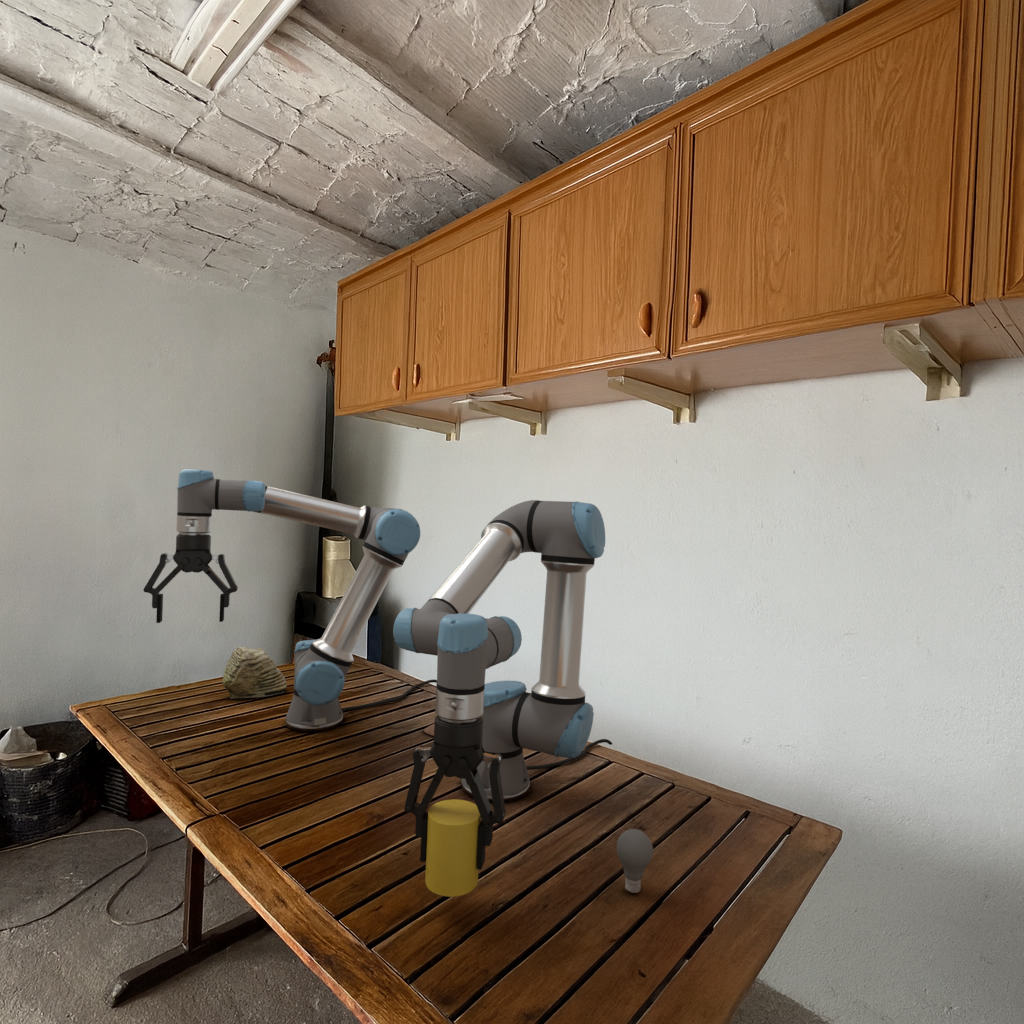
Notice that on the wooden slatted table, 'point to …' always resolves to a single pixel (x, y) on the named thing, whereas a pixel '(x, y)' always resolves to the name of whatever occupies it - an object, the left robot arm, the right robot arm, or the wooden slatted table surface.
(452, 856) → the canister
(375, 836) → the wooden slatted table surface
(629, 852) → the light bulb
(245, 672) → the fossil
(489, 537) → the right robot arm
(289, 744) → the wooden slatted table surface
